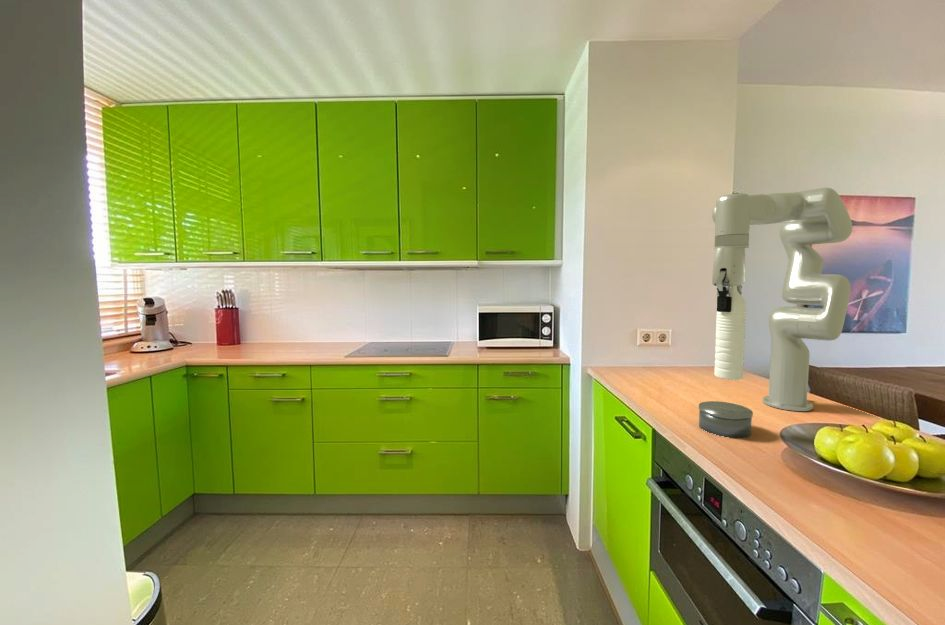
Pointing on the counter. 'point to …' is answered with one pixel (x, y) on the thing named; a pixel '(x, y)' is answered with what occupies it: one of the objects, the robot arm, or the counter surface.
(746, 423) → the cake tin
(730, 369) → the water bottle
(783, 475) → the counter surface
